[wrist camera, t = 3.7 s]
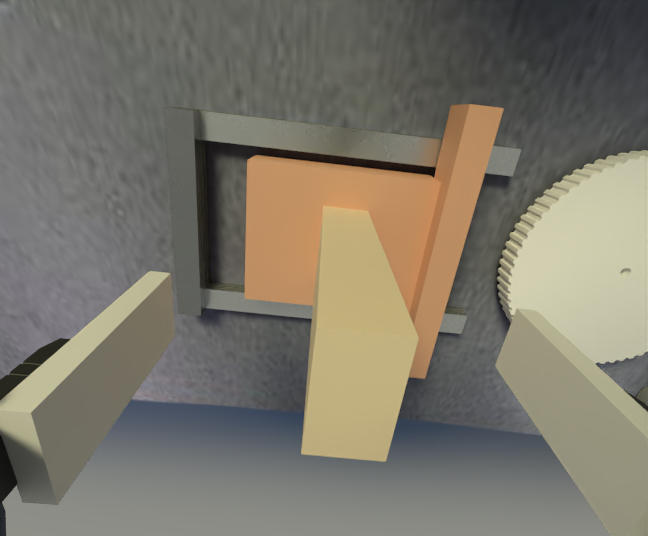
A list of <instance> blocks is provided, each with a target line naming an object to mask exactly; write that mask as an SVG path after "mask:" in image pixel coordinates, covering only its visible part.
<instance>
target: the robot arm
mask: <svg viewBox="0 0 648 536" xmlns="http://www.w3.org/2000/svg"><path fill="white" fill-rule="evenodd" d="M174 337H175V329H174V314H173V300H172V285H171V273H163V272H154V271H149V272H148V273H147V274H146V275H145V276H143V277H142V278H141V279H140V280H139V281H138V282H136V283H135V284H134V285H133V286H132V287H131V288H130V289H128V290H127V291H126V292H125V293H124V294H123V295H121V296H120V297H119V298H118V299H117V300H116V301H115V302H113V303H112V304H111V305H110V306H109V307H108V308H106V309H105V310H104V311H103V312H102V313H101V314H100V315H98V316H97V317H96V318H95V319H94V320H93V321H91V322H90V323H89V324H88V325H87V326H86V327H85V328H83V329H82V330H81V331H80V332H79V333H78V334H76V335H75V336H74V337H73V338H72V339H62V338H60V339H58V340H56V341H54V342H52V343H50V344H48V345H46V346H44V347H42V348H40V349H38V350H37V351H36V352H35V353H33V354H32V355H31V356H30V357H28V358H27V359H26V360H25V361H23V364H20V365H18V366H17V367H16V368H15V369H13V370H12V371H11V372H10V374H9V375H6V376H5V377H3V378H2V379H1V380H0V536H6V518H5V509H4V507H3V504H2V501H3V500H4V499H5V498H6V497H7V496H8V494H9V493H10V492H11V491H12V489H13V488H14V487H15V486H16V485H17V487H18V490H19V493H20V496H21V499H22V502H25V503H39V504H52V505H58V504H59V502H60V501H61V499H62V498H63V497H64V495H65V494H66V492H67V491H68V489H69V488H70V486H71V485H72V484H73V482H74V481H75V479H76V478H77V476H78V475H79V473H80V472H81V471H82V469H83V468H84V466H85V465H86V463H87V462H88V460H89V459H90V458H91V456H92V455H93V453H94V452H95V450H96V449H97V448H98V446H99V444H100V443H101V442H102V440H103V439H104V437H105V436H106V435H107V433H108V432H109V430H110V429H111V427H112V426H113V424H114V423H115V422H116V420H117V419H118V417H119V416H120V414H121V413H122V411H123V410H124V409H125V407H126V406H127V404H128V403H129V401H130V400H131V398H132V397H133V396H134V394H135V393H136V391H137V390H138V388H139V387H140V386H141V384H142V383H143V381H144V380H145V378H146V377H147V375H148V374H149V373H150V371H151V370H152V368H153V367H154V365H155V364H156V362H157V361H158V360H159V358H160V357H161V355H162V354H163V352H164V351H165V349H166V348H167V347H168V345H169V344H170V342H171V341H172V339H173V338H174ZM495 367H496V368H497V370H498V371H499V373H500V374H501V376H502V377H503V379H504V380H505V381H506V383H507V384H508V386H509V387H510V389H511V390H512V392H513V393H514V395H515V396H516V398H517V399H518V400H519V402H520V403H521V405H522V406H523V408H524V409H525V411H526V412H527V414H528V415H529V417H530V418H531V419H532V421H533V422H534V424H535V425H536V427H537V428H538V430H539V431H540V433H541V434H542V436H543V437H544V439H545V440H546V441H547V443H548V444H549V446H550V447H551V449H552V450H553V452H554V453H555V455H556V456H557V458H558V459H559V460H560V462H561V463H562V465H563V466H564V468H565V469H566V471H567V472H568V474H569V475H570V477H571V478H572V479H573V481H574V482H575V484H576V485H577V487H578V488H579V490H580V491H581V493H582V494H583V496H584V497H585V498H586V500H587V501H588V503H589V504H590V506H591V507H592V509H593V510H594V512H595V513H596V515H597V516H598V517H599V519H600V520H601V522H602V523H603V525H604V526H605V528H606V529H607V531H608V532H609V534H610V535H611V536H648V406H647V405H646V404H645V403H643V402H642V401H640V400H639V399H637V398H636V397H634V396H632V395H631V394H629V393H628V392H626V391H625V390H623V389H622V388H621V387H620V386H619V385H617V384H616V383H615V382H614V381H613V380H612V379H611V378H610V377H609V376H608V375H607V374H605V373H604V372H603V371H602V370H601V369H600V368H599V367H598V366H597V365H596V364H594V363H593V362H592V361H591V360H590V359H589V358H588V357H587V356H586V355H585V354H583V353H582V352H581V351H580V350H579V349H578V348H577V347H576V346H575V345H574V344H572V343H571V342H570V341H569V340H568V339H567V338H566V337H565V336H564V335H563V334H562V333H560V332H559V331H558V330H557V329H556V328H555V327H554V326H553V325H552V324H551V323H549V322H548V321H547V320H546V319H545V318H544V317H543V316H542V315H541V314H540V313H538V312H537V311H536V310H528V309H518V308H517V309H516V312H515V314H514V317H513V320H512V322H511V325H510V328H509V330H508V333H507V336H506V338H505V341H504V343H503V346H502V349H501V351H500V354H499V357H498V359H497V362H496V365H495Z"/></svg>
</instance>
